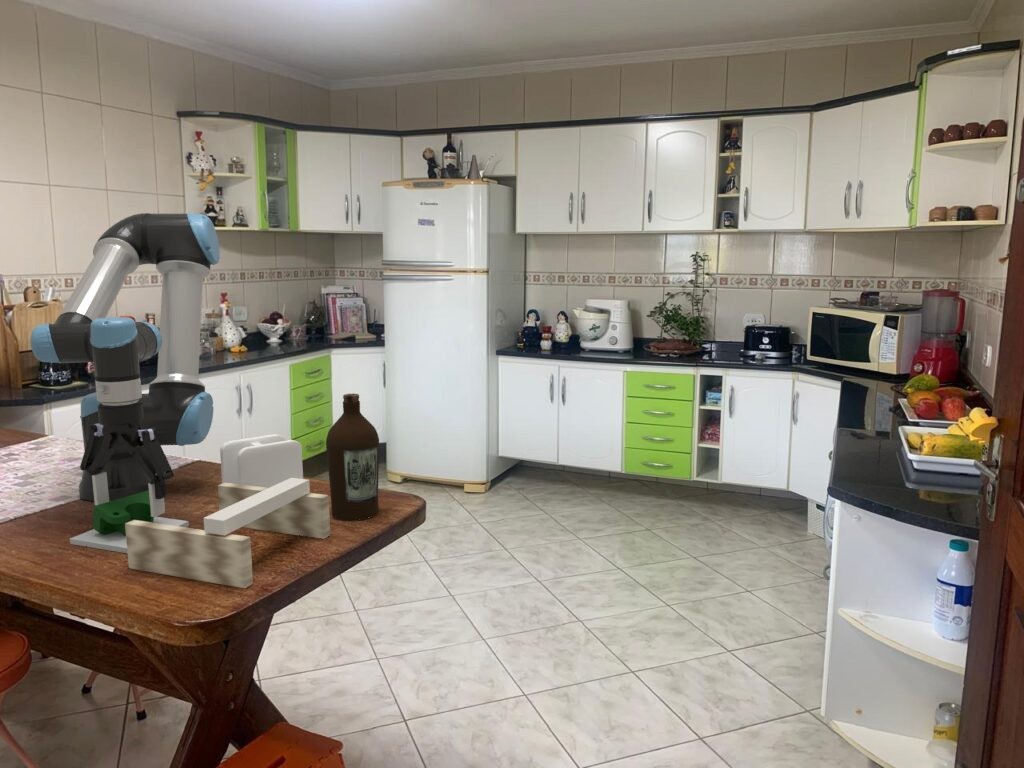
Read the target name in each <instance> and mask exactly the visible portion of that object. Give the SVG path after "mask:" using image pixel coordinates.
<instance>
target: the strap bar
mask: <svg viewBox="0 0 1024 768" xmlns="http://www.w3.org/2000/svg"><path fill="white" fill-rule="evenodd" d="M310 487H311V486H310V479H305V478H303V479H298V478H290V479H287V480H285V481H283V482H281V483H279V484H276V485H274V486H272V487H270V488H268V489H266V490H263V491H261V492H259V493H257V494H255V495H252V496H250V497H248V498H246V499H244V500H242V501H239V502H237V503H235V504H233V505H231V506H228V507H226V508H224V509H222V510H220V511H219V510H218V511H215V512H213V513H211V514H209V515H207V516H205V517H203V528H204V529H203V530H204V532H205V533H211V534H218V535H224V536H225V535H227V534H232V532H235V531H237V530H239V529H240V528H243V527H242V526H244V525H246V524H248V523H250V522H252V521H254V520H256V519H258V518H260V517H262V516H264V515H266V514H268V513H270V512H272V511H274V510H276V509H278V508H280V507H282V506H284V505H286V504H288V503H290V502H292V501H294V500H296V499H298V498H300V497H302V496H304V495H306V494H308V493H311V492H310V491H311V489H310Z"/></svg>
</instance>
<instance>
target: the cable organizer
mask: <svg viewBox="0 0 1024 768" xmlns="http://www.w3.org/2000/svg"><path fill="white" fill-rule="evenodd" d="M219 448H220V449H219V452H220V454H219V455H220V471H221V472H220V473H221V484H222V483H232V484H240V485H249V486H257V487H265V488H270V487H272V486H274V485H276V484H279V483H281V482H283V481H285V480H287V479H290V478H298V479H304V471H303V468H304V467H303V449H302V448H303V447H302V444H301V443H300V442H298V441H296V440H294V439H288V440H287V439H286V438H285V437H284V436H282V435H280V434H277V433H273V434H265V435H260V436H254V437H247V438H246V437H245V438H241V439H234V440H229V441H225V442H224V443H223V444H222V445H221V446H220V447H219Z"/></svg>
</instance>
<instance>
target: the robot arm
mask: <svg viewBox="0 0 1024 768" xmlns="http://www.w3.org/2000/svg"><path fill="white" fill-rule="evenodd" d="M220 254H221V252H220V244H219V239H218V234H217V230H216V227H215V226H214V223H213V221H212V220H211V218H210V217H209V216H207V215H206V214H199V213H191V212H187V213H147V212H146V213H145V212H144V213H142V212H141V213H137V214H132V215H130V216H127V217H124V218H123V219H121V220H119V221H117V222H116V223H114V224H113V225H111V226H110V227H109V228H108V229H107V230H105V231H104V232H103V233H102V234H101V235H100V237H99V238H98V240H97V241H96V242H95V244H94V246H93V248H92V255H93V258H92V260H91V262H90V263H89V265H88V266H87V268H86V270H85V272H83V273H84V274H83V275H82V277H81V278H80V280H79V282H78V284H77V285H76V287H75V288H74V290H73V291H72V293H71V295H70V296H69V298H68V300H67V301H66V303H65V305H64V306H63V308H62V311H61V312H60V314H59V315H58V317H57V319H55V321H54V323H51V322H49V323H48V322H47V323H43V324H38V325H36V326H35V327H34V328H33V329H32V331H31V334H30V335H31V336H30V347H31V351H32V353H33V355H34V357H35V358H36V359H37V360H38V361H40V362H42V363H55V364H56V363H57V364H72V363H74V364H75V363H77V364H78V363H93V371H94V380H95V392H92V393H88V394H86V395H85V396H84V397H82V399H81V400H80V416H79V417H80V421H81V423H80V424H81V431H82V432H81V433H82V441H83V449H84V450H83V451H84V453H83V455H82V459H81V462H80V465H79V468H80V470H81V471H82V476H81V481H80V482H79V484H78V485H79V486H78V491H79V492H78V493H79V497H80V498H81V500H84V501H89V502H90V501H91V502H94V506H96V505H99V504H103V503H106V502H110V501H113V500H117V499H120V498H124V497H127V496H131V495H134V494H138V493H141V492H145V491H148V490H149V497H150V509H151V517H159V516H161V515H163V514H165V513H166V506H165V503H164V501H165V498H166V497H167V491H166V480H170V479H172V478H174V476H175V474H174V471H173V469H172V466H171V465H170V462H169V460H168V458H167V455H166V454H165V452H164V450H163V448H162V446H180V447H184V446H187V445H189V446H191V445H198V444H201V443H202V442H203V441H204V440H206V438H207V436H208V435H209V432H210V431H211V427H212V423H213V417H214V406H213V404H214V400H213V396H212V394H210V393H208V392H206V385H204V383H203V382H202V381H201V380H200V378H199V371H200V369H199V368H200V350H201V349H200V346H201V326H202V325H201V323H202V307H203V306H202V305H203V303H202V300H203V284H204V283H203V281H204V279H205V278H207V277H209V275H210V274H211V265H212V266H216V265H217V264H219V261H220V257H221V256H220ZM142 265H155V269H156V270H157V271H158V272H159V273H160V275H161V276H162V283H161V284H162V285H161V300H160V302H161V303H160V317H159V320H160V321H159V328H158V327H157V326H155V325H154V324H153V323H151V322H148V321H135V320H134V319H133V318H131V317H126V316H123V317H120V316H117V317H107V316H108V314H109V311H111V308H112V305H113V304H114V302H115V300H116V299H117V296H118V295H119V293H120V291H121V289H122V287H123V286H124V283H125V281H126V279H127V278H128V276H129V275H130V274H133V273H134V272H135V271H136V270H137V269H138V268H139V266H142ZM156 354H158V355H157V358H158V359H157V373H156V374H157V376H156V378H154V380H151V382H149V385H148V386H149V387H148V393H142V383H141V382H142V381H141V373H140V372H141V369H140V363H141V362H144V361H147V360H150V359H151V358H153V357H154V356H156Z"/></svg>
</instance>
